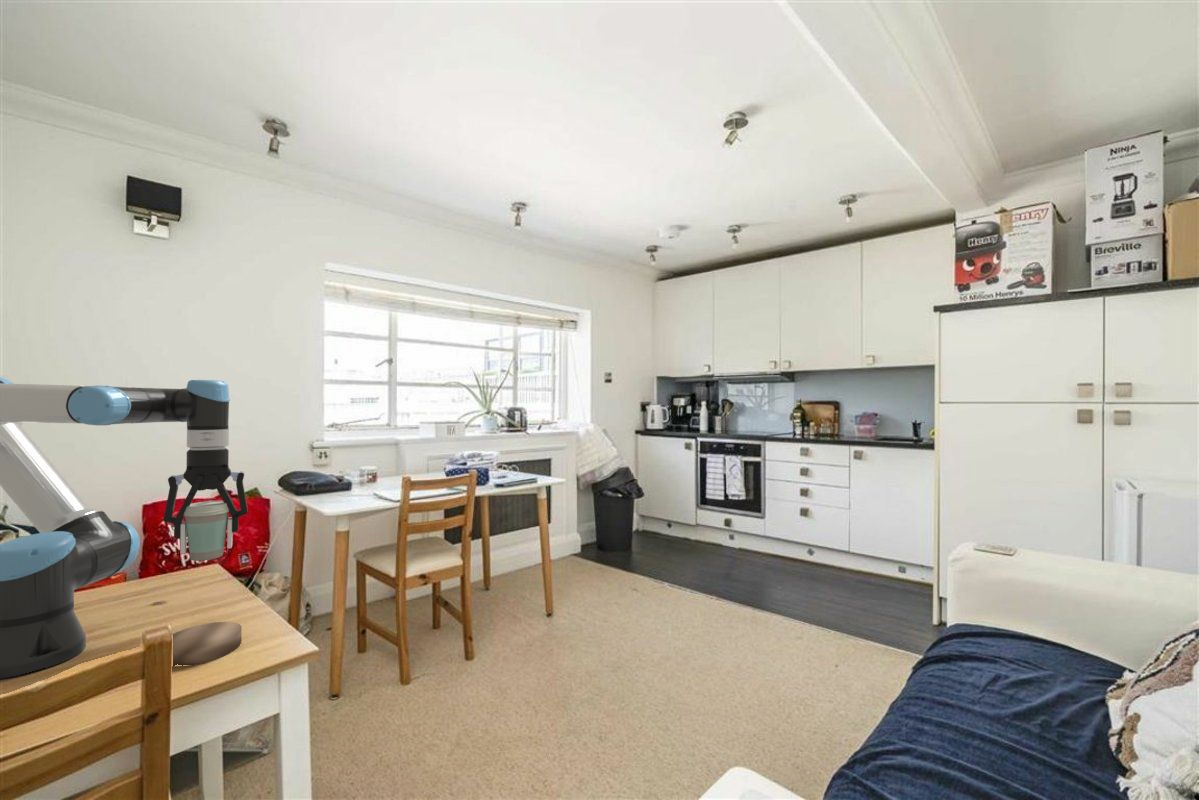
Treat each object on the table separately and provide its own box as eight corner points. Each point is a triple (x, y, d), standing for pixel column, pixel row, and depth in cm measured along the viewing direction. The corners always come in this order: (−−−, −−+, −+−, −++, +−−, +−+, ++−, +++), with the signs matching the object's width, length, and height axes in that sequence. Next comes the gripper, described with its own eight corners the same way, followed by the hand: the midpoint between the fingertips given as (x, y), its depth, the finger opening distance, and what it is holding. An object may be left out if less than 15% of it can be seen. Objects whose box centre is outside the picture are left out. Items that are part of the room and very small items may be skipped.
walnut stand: (145, 671, 94) (145, 655, 94) (178, 640, 107) (178, 626, 107) (227, 660, 99) (228, 645, 99) (250, 632, 111) (250, 618, 111)
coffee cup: (223, 549, 121) (224, 498, 121) (235, 556, 115) (235, 503, 115) (178, 557, 114) (178, 504, 114) (187, 565, 109) (188, 509, 109)
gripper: (144, 451, 106) (143, 561, 106) (262, 447, 117) (261, 546, 117) (151, 449, 112) (150, 552, 112) (262, 445, 124) (261, 539, 124)
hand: (207, 549), depth 115 cm, fingers closed on coffee cup, 8 cm apart
